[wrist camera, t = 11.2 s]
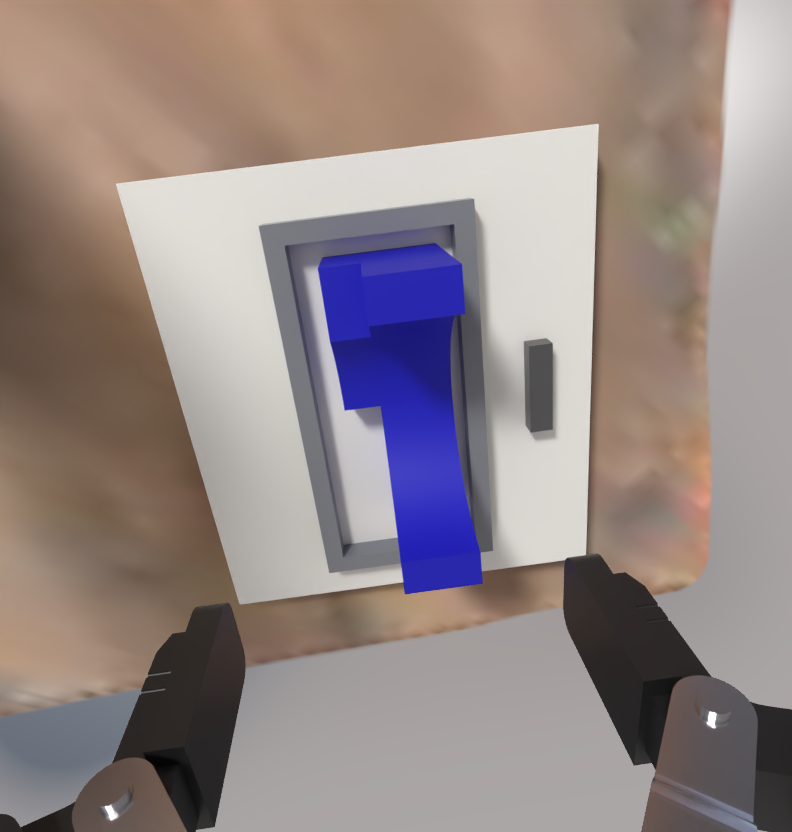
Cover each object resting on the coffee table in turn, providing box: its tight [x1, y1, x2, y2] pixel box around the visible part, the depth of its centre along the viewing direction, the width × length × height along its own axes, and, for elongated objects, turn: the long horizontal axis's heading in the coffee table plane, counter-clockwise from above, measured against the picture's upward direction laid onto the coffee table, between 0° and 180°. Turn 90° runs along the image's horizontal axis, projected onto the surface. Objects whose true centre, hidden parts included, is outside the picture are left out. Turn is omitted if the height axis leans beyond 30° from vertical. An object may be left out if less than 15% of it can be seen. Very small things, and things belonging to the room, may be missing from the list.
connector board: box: [116, 124, 599, 605], centre depth 25 cm, size 18×20×2 cm
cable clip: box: [318, 243, 483, 594], centre depth 21 cm, size 12×4×6 cm, turn 7°
